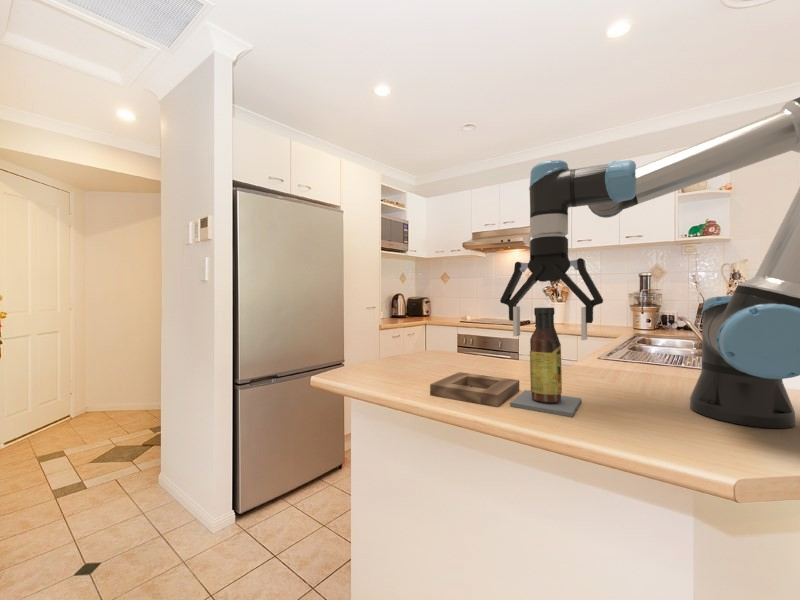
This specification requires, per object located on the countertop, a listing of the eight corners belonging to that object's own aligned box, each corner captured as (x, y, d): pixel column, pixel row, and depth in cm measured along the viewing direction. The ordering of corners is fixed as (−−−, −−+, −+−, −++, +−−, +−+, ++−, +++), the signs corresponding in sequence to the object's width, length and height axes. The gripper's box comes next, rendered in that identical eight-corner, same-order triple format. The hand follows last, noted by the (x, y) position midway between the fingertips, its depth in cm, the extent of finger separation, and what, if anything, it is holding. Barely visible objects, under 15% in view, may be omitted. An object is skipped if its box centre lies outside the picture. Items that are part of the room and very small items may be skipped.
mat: (581, 401, 81) (581, 398, 81) (572, 417, 71) (572, 413, 71) (525, 393, 87) (525, 390, 87) (510, 406, 77) (510, 402, 77)
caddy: (519, 390, 90) (519, 380, 90) (497, 407, 77) (497, 395, 77) (458, 381, 99) (459, 372, 99) (430, 394, 86) (430, 384, 86)
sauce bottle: (565, 404, 75) (564, 307, 75) (533, 403, 76) (533, 308, 76) (557, 396, 82) (556, 306, 82) (527, 395, 83) (527, 307, 83)
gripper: (617, 234, 75) (617, 339, 75) (497, 244, 88) (497, 332, 89) (615, 228, 68) (615, 343, 69) (485, 240, 82) (486, 335, 82)
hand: (548, 337), depth 79 cm, fingers open, 13 cm apart
